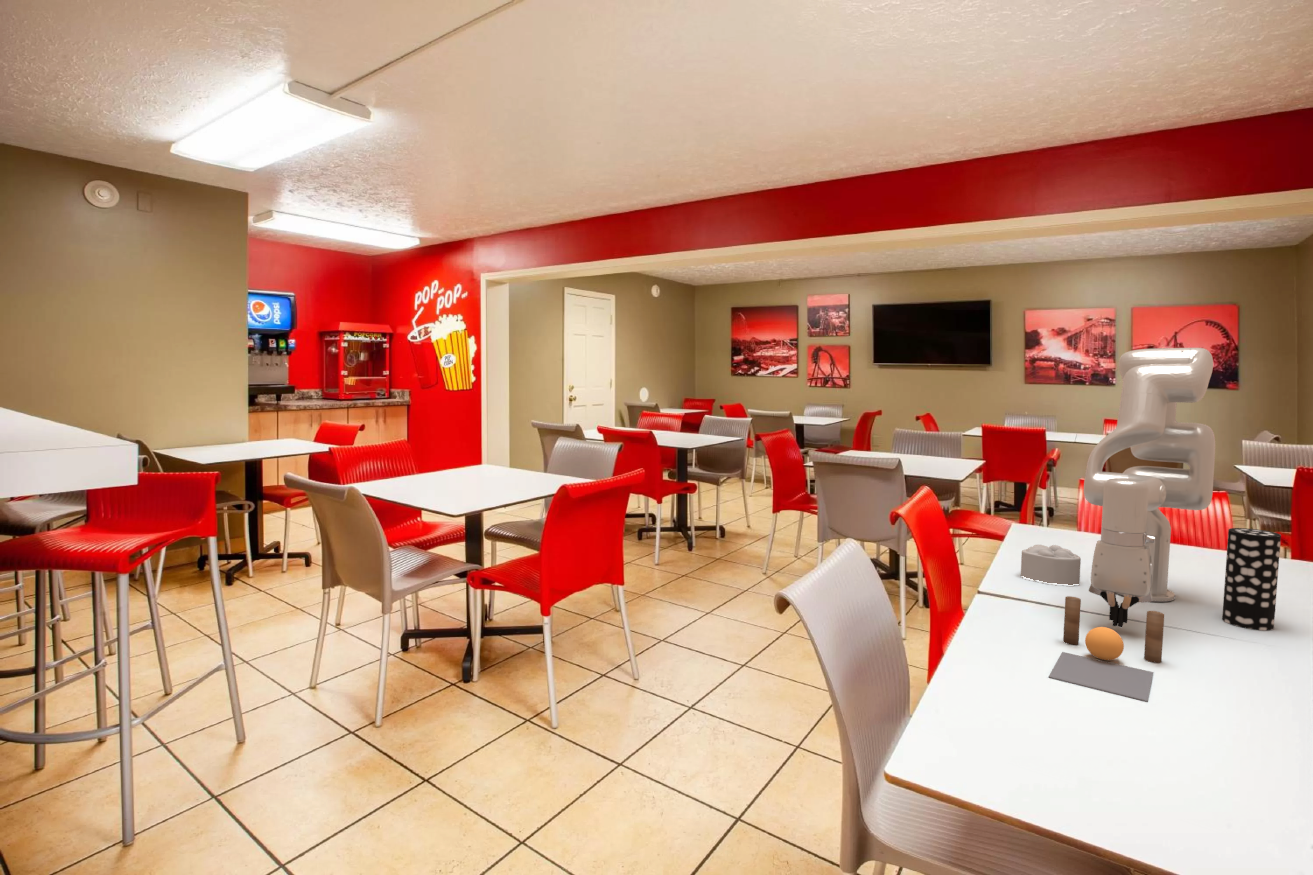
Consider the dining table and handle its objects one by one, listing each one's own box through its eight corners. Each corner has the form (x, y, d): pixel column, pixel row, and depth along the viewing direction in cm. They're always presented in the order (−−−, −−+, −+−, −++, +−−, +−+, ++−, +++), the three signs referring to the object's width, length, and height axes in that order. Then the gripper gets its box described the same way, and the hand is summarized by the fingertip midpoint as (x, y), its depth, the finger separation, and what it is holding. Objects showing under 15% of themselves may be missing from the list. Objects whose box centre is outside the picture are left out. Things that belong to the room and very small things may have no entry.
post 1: (1064, 638, 133) (1066, 595, 133) (1079, 642, 132) (1081, 598, 131) (1062, 642, 131) (1064, 598, 131) (1077, 646, 130) (1079, 601, 129)
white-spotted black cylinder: (1253, 617, 146) (1259, 528, 144) (1284, 631, 138) (1292, 537, 136) (1212, 615, 147) (1218, 527, 145) (1241, 629, 138) (1248, 536, 137)
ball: (1088, 636, 128) (1086, 617, 126) (1126, 644, 125) (1124, 623, 122) (1084, 662, 125) (1081, 642, 122) (1122, 670, 121) (1121, 650, 118)
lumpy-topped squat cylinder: (1031, 571, 182) (1033, 540, 182) (1085, 581, 173) (1087, 549, 172) (1016, 578, 176) (1018, 546, 175) (1072, 589, 166) (1073, 555, 165)
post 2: (1144, 655, 125) (1147, 609, 124) (1161, 659, 123) (1164, 612, 123) (1143, 660, 123) (1146, 613, 122) (1161, 664, 121) (1164, 616, 121)
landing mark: (1062, 652, 126) (1062, 651, 126) (1153, 673, 117) (1153, 672, 117) (1048, 677, 116) (1048, 676, 116) (1147, 701, 107) (1147, 700, 107)
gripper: (1169, 540, 134) (1164, 628, 135) (1082, 530, 143) (1078, 612, 145) (1167, 547, 128) (1162, 639, 129) (1077, 536, 138) (1073, 621, 139)
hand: (1117, 624), depth 137 cm, fingers closed
